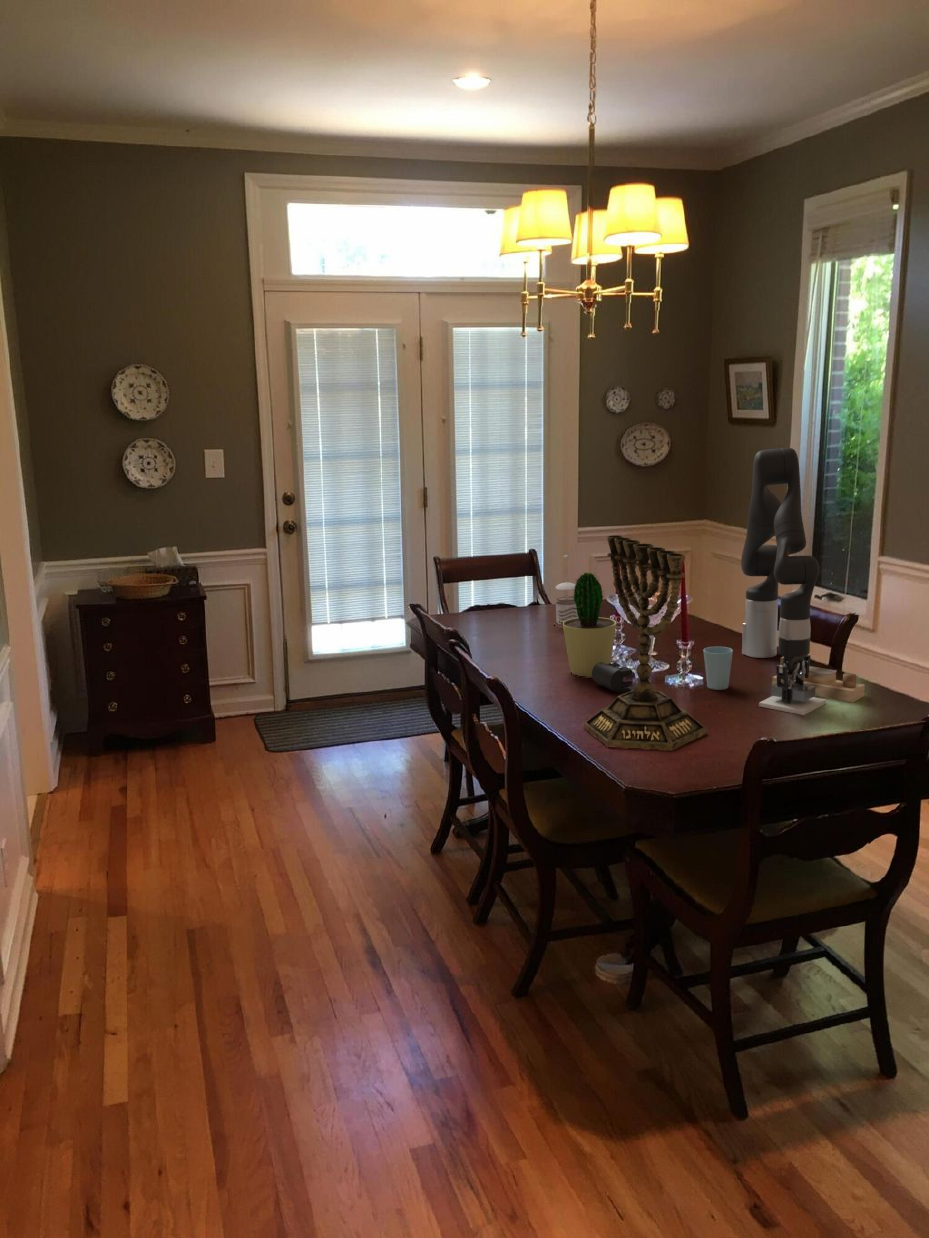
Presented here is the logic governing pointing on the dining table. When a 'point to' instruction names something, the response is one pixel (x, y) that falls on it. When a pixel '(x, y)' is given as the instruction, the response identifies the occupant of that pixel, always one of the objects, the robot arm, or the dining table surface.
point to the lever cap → (795, 691)
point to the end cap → (612, 677)
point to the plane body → (831, 684)
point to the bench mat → (792, 705)
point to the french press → (565, 601)
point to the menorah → (645, 654)
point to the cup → (718, 667)
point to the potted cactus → (588, 628)
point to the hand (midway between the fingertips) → (792, 699)
